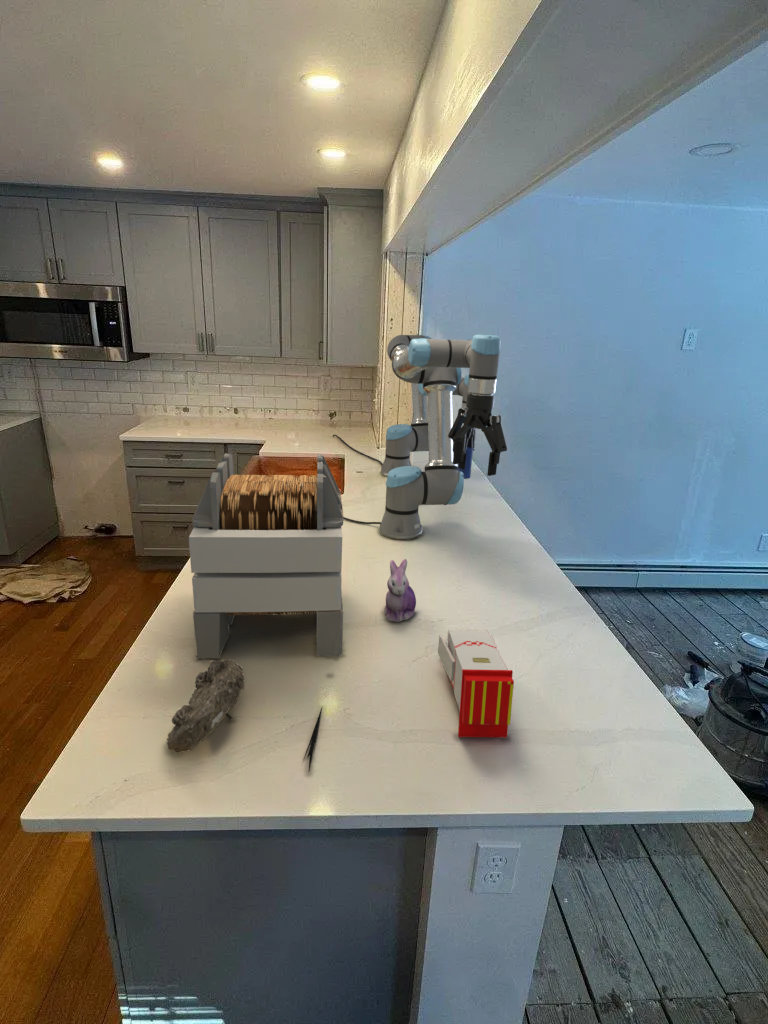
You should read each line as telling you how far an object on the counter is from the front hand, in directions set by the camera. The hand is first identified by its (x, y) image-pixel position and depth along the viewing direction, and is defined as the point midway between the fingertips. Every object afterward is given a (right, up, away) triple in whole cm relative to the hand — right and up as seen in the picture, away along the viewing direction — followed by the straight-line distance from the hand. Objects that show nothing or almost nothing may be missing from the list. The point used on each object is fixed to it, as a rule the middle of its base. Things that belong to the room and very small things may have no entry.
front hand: (473, 469), depth 162 cm
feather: (-38, -52, -53) cm, 84 cm away
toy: (-8, -50, -43) cm, 67 cm away
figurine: (-22, -39, -15) cm, 47 cm away
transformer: (-53, -39, -20) cm, 69 cm away
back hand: (+9, +7, +82) cm, 82 cm away
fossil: (-58, -51, -54) cm, 95 cm away
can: (+9, +3, +83) cm, 84 cm away
